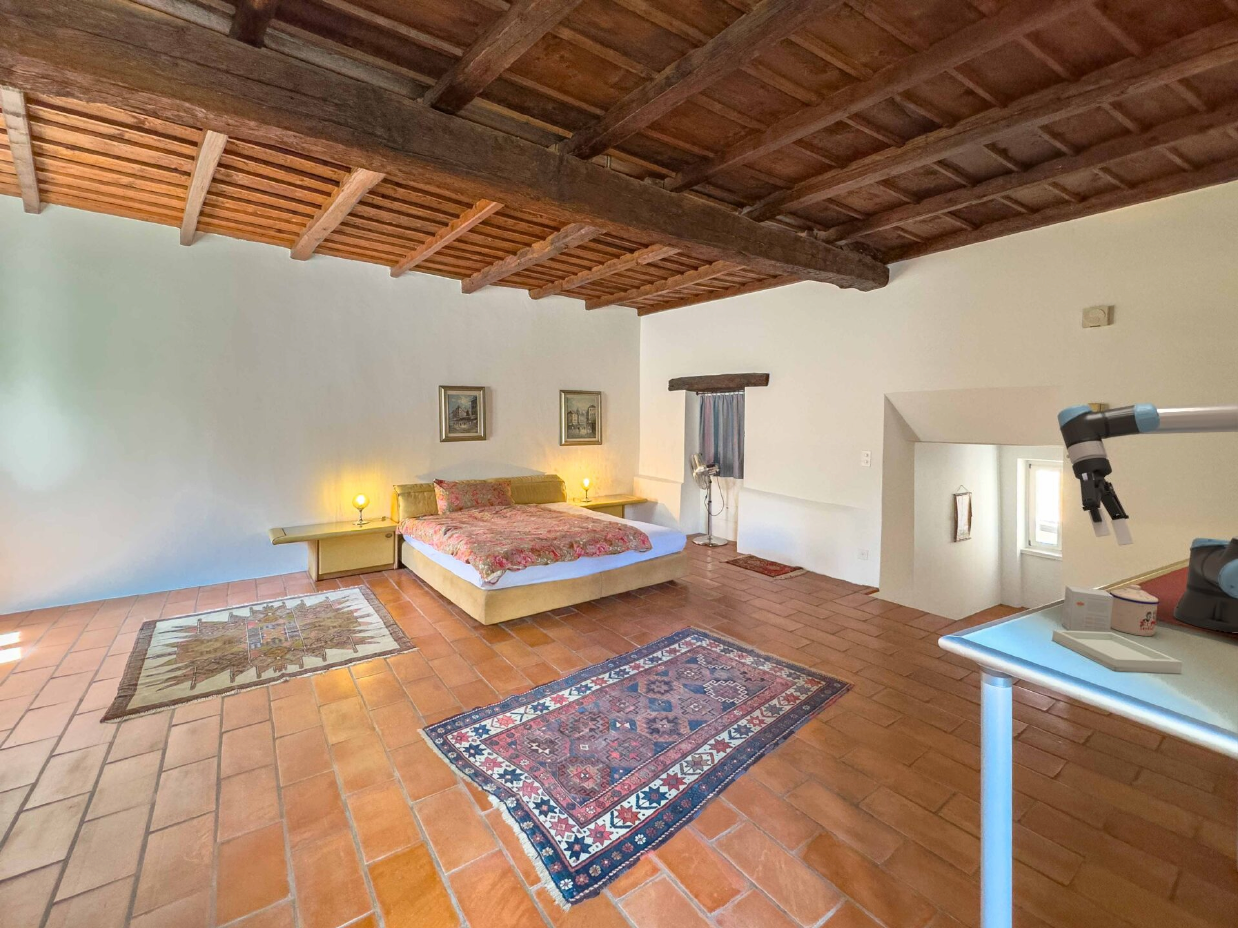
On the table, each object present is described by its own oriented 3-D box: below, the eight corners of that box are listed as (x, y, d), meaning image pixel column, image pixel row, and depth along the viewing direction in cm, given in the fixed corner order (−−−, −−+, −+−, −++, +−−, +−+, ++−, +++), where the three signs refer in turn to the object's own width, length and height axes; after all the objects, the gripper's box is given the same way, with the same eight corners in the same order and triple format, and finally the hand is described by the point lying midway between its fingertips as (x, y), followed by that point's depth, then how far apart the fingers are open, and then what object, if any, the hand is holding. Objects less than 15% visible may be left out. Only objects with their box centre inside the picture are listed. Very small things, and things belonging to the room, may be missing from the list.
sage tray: (1110, 642, 129) (1111, 632, 129) (1180, 673, 113) (1182, 661, 113) (1052, 640, 129) (1053, 629, 128) (1114, 670, 113) (1115, 659, 112)
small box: (1100, 630, 137) (1105, 590, 136) (1109, 638, 132) (1114, 596, 131) (1061, 624, 140) (1065, 584, 139) (1068, 631, 135) (1072, 590, 134)
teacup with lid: (1148, 639, 132) (1153, 592, 131) (1100, 626, 140) (1105, 582, 139) (1164, 631, 138) (1169, 586, 137) (1117, 619, 146) (1122, 577, 145)
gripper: (1092, 475, 152) (1116, 550, 144) (1051, 455, 140) (1074, 535, 132) (1126, 467, 146) (1153, 544, 138) (1086, 445, 134) (1113, 528, 126)
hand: (1115, 540), depth 135 cm, fingers open, 13 cm apart
